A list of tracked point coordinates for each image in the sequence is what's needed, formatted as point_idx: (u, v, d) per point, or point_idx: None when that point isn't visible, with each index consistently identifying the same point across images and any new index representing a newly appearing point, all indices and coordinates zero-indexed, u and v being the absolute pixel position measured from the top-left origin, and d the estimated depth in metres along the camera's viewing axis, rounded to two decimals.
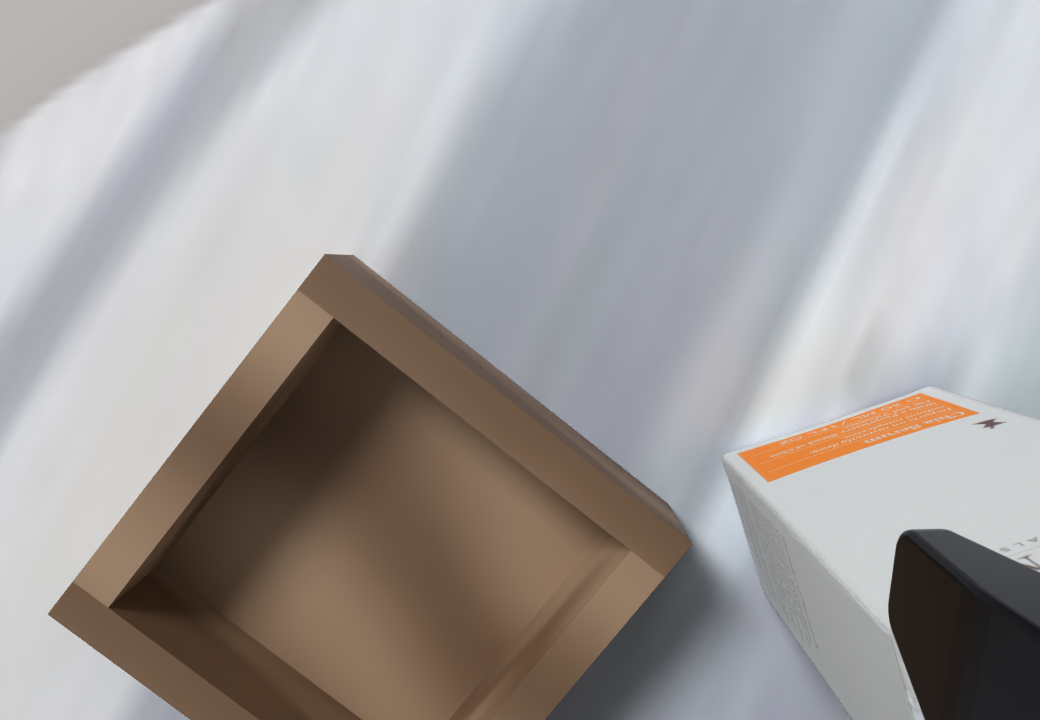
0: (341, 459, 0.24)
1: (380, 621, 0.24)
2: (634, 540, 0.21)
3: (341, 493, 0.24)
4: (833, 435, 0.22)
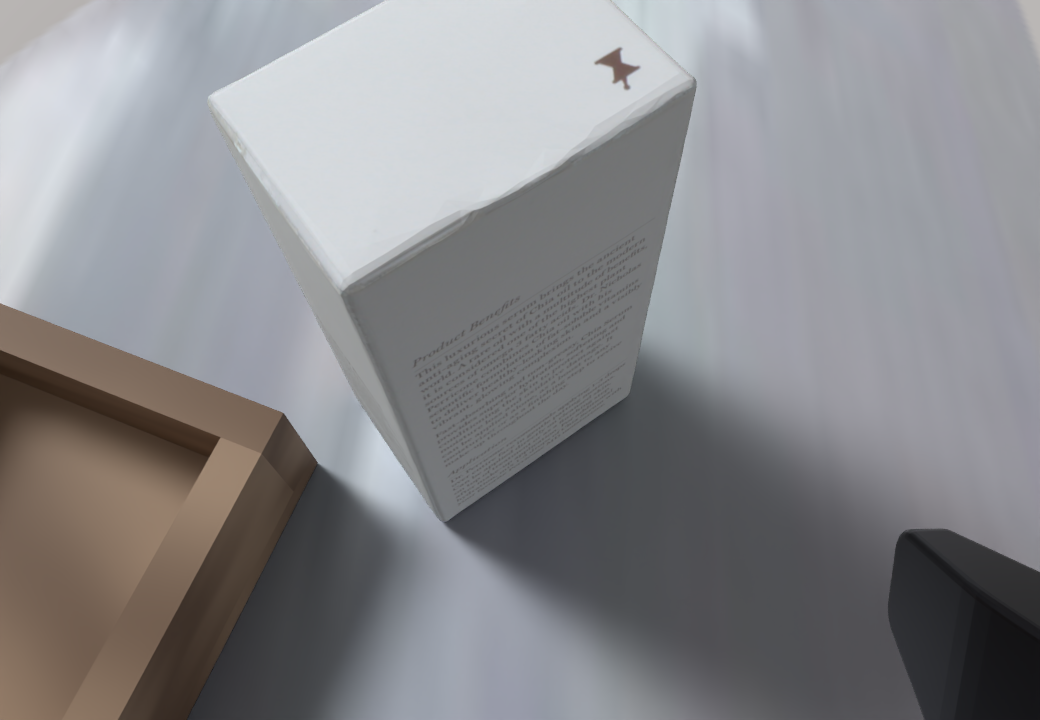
0: None
1: (6, 672, 0.21)
2: (222, 426, 0.20)
3: None
4: None
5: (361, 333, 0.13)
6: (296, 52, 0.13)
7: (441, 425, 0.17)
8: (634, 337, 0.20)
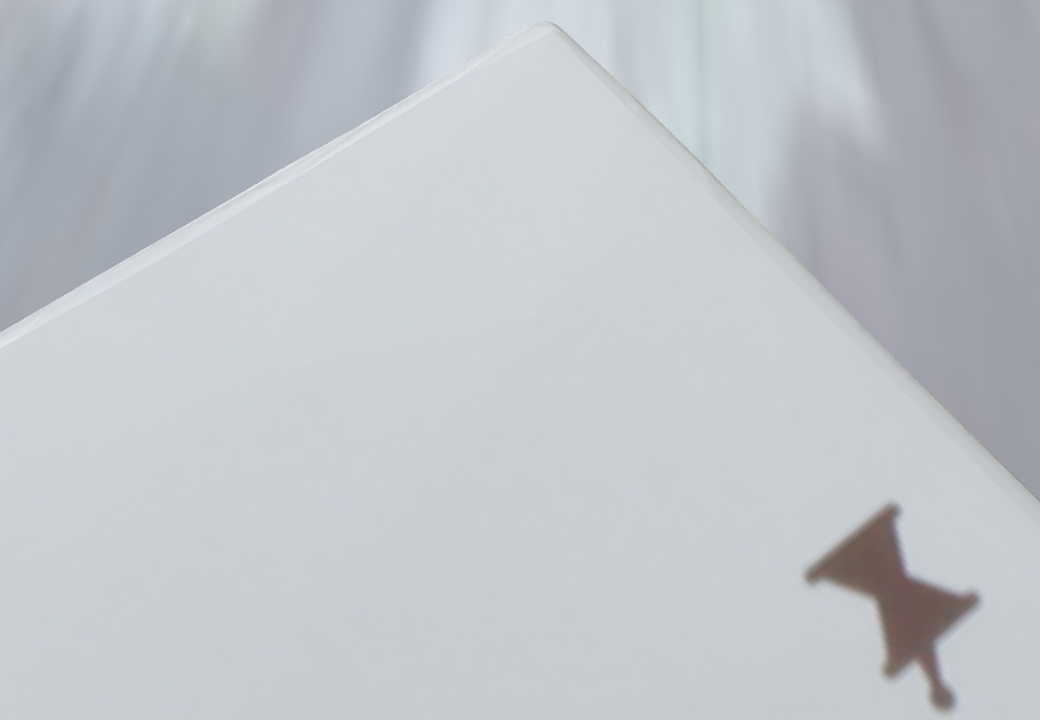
0: None
1: None
2: None
3: None
4: None
5: None
6: None
7: None
8: None
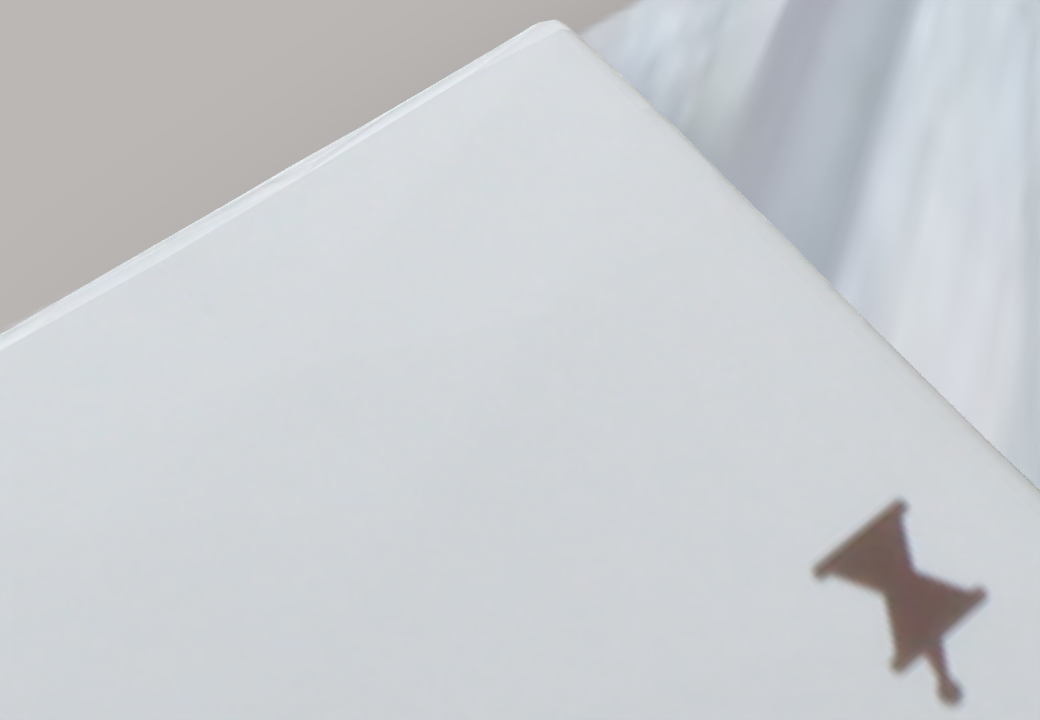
0: None
1: None
2: None
3: None
4: None
5: None
6: None
7: None
8: None
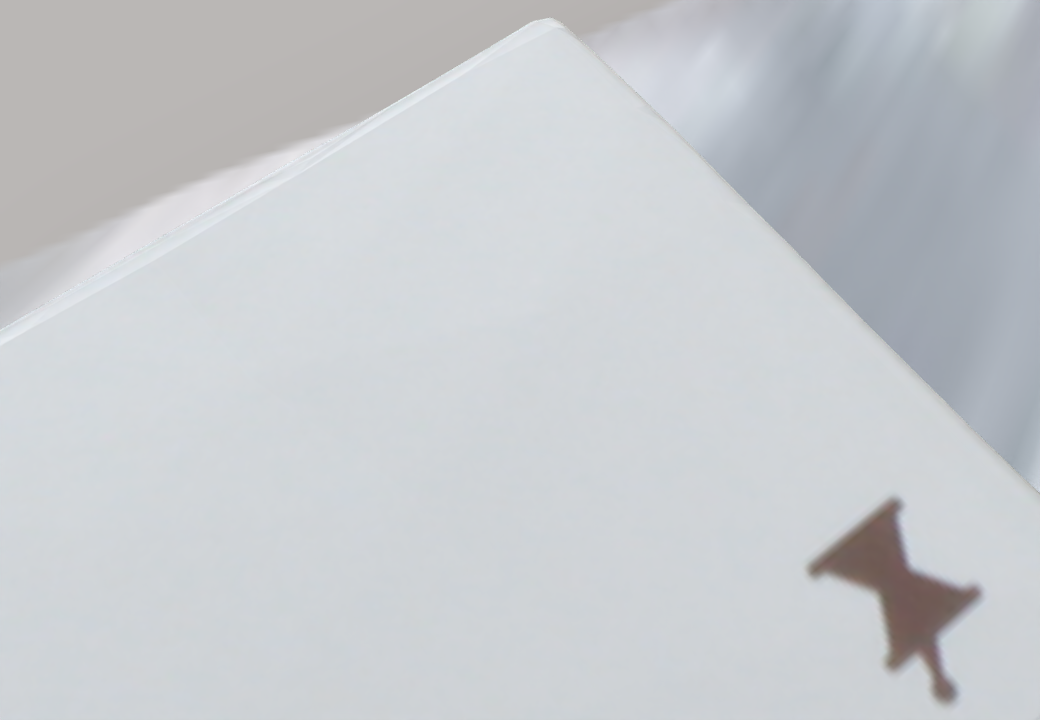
0: None
1: None
2: None
3: None
4: None
5: None
6: None
7: None
8: None
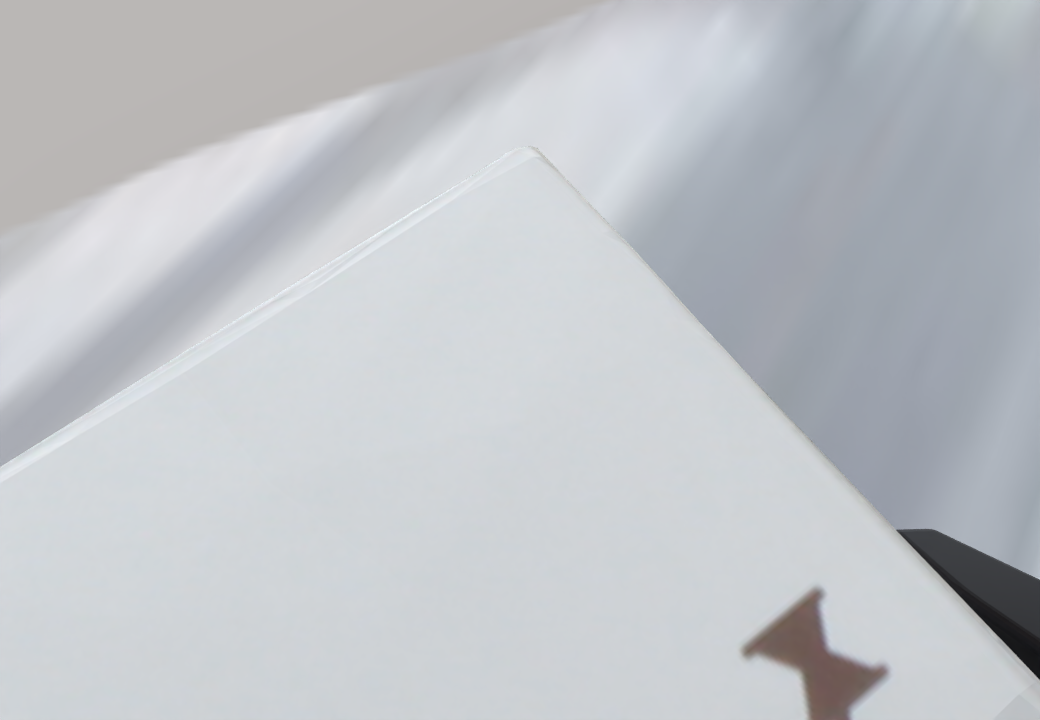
0: None
1: None
2: None
3: None
4: None
5: None
6: None
7: None
8: None
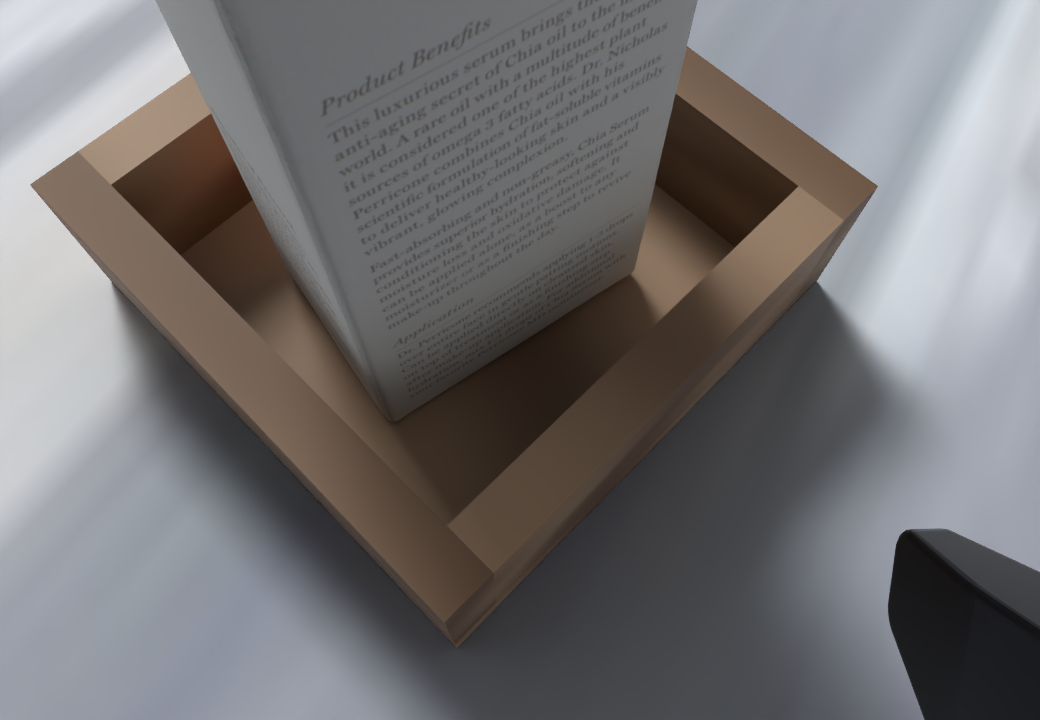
0: None
1: None
2: (802, 175, 0.16)
3: None
4: None
5: (221, 6, 0.08)
6: None
7: (377, 249, 0.12)
8: (648, 170, 0.15)
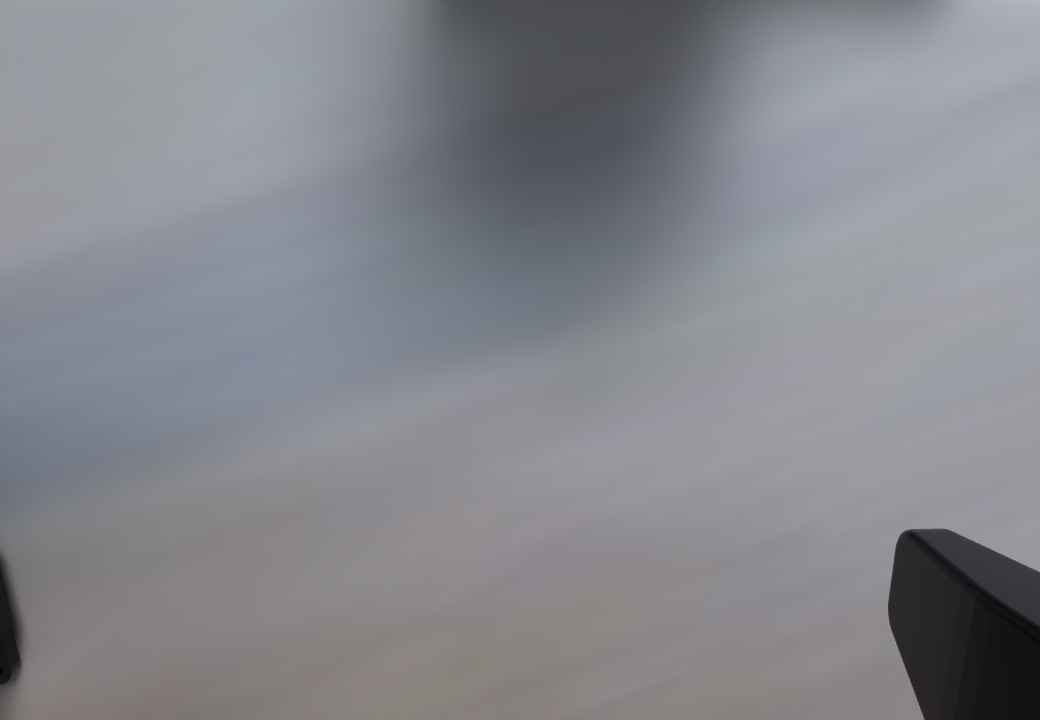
0: None
1: None
2: None
3: None
4: None
5: None
6: None
7: None
8: None
